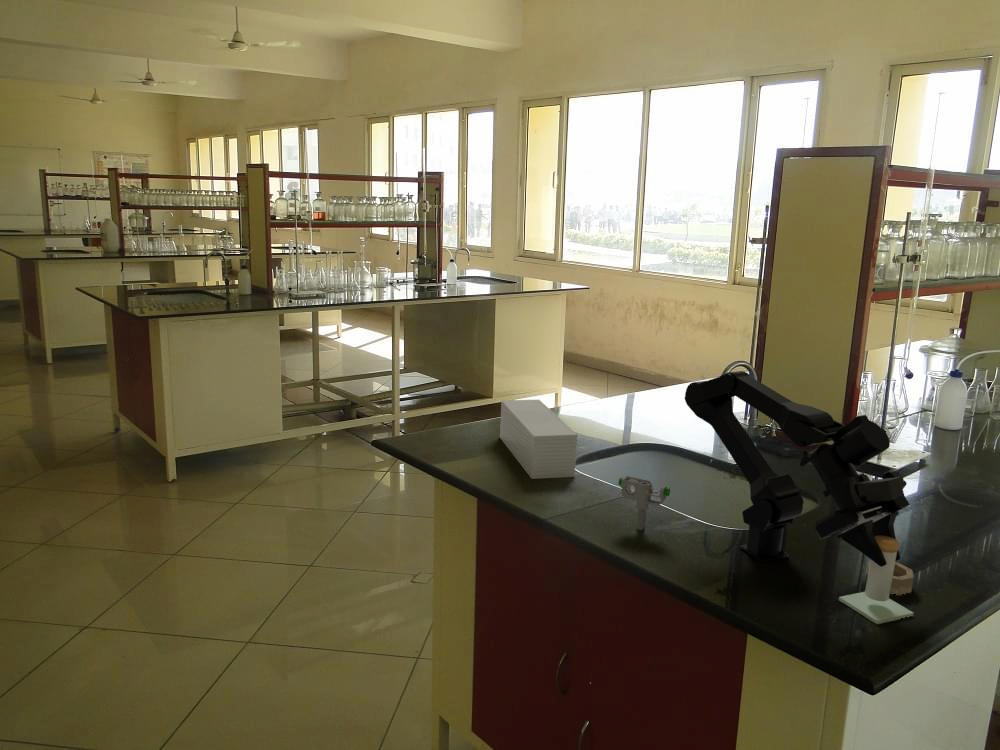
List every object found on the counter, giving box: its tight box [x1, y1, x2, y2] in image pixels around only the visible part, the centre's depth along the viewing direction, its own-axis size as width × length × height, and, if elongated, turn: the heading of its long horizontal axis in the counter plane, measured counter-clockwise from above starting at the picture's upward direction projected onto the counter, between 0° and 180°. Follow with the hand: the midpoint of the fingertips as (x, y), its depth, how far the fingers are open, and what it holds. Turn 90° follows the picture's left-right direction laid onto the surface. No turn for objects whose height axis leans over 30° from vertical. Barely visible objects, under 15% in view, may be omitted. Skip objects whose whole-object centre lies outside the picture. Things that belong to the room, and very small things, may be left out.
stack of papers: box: [499, 399, 578, 480], centre depth 198 cm, size 32×11×11 cm, turn 14°
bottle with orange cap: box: [864, 535, 900, 601], centre depth 128 cm, size 4×4×10 cm
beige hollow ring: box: [863, 560, 915, 596], centre depth 138 cm, size 8×7×3 cm
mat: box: [838, 591, 914, 625], centre depth 130 cm, size 8×8×1 cm
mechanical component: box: [618, 475, 671, 531], centre depth 156 cm, size 3×10×10 cm, turn 61°
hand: (890, 562), depth 127 cm, fingers closed on bottle with orange cap, 4 cm apart
